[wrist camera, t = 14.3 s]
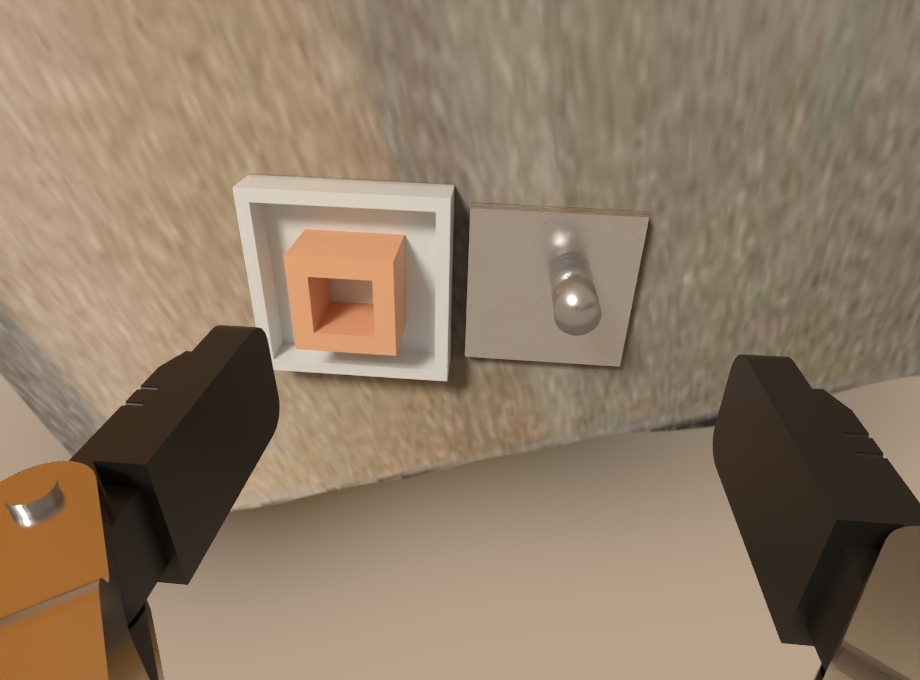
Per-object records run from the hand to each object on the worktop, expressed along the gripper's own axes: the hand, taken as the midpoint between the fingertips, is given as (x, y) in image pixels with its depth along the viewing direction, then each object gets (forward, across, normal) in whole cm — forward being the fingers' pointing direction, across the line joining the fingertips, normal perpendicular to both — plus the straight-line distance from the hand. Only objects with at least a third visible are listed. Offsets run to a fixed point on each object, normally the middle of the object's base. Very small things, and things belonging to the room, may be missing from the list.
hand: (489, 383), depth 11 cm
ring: (+25, +10, +10) cm, 28 cm away
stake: (+26, -2, +10) cm, 28 cm away
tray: (+25, +10, +10) cm, 29 cm away
